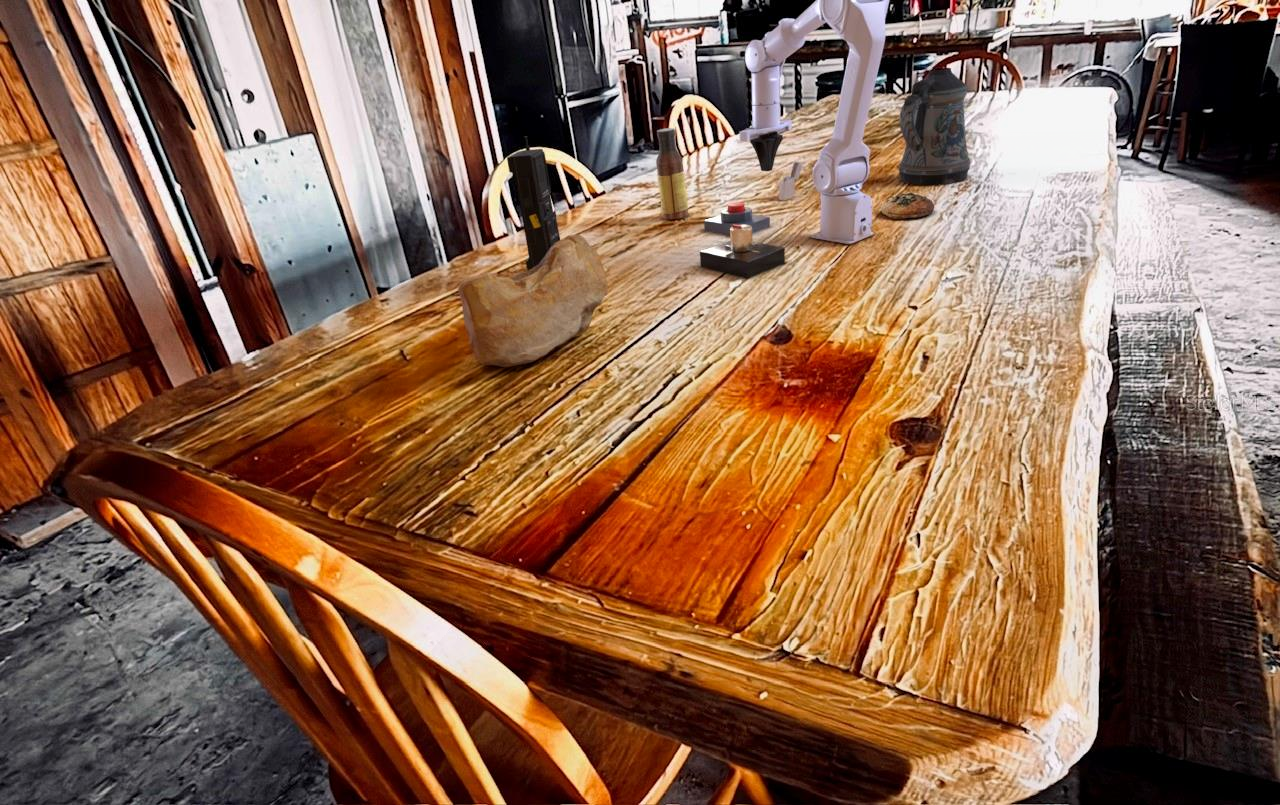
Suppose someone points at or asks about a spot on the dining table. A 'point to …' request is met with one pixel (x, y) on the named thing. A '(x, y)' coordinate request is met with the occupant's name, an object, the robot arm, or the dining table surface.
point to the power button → (736, 207)
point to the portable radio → (534, 202)
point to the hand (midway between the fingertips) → (766, 170)
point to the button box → (736, 221)
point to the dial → (741, 238)
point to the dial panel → (742, 259)
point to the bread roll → (907, 206)
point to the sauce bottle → (671, 177)
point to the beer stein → (934, 131)
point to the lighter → (789, 182)
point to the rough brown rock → (534, 305)
